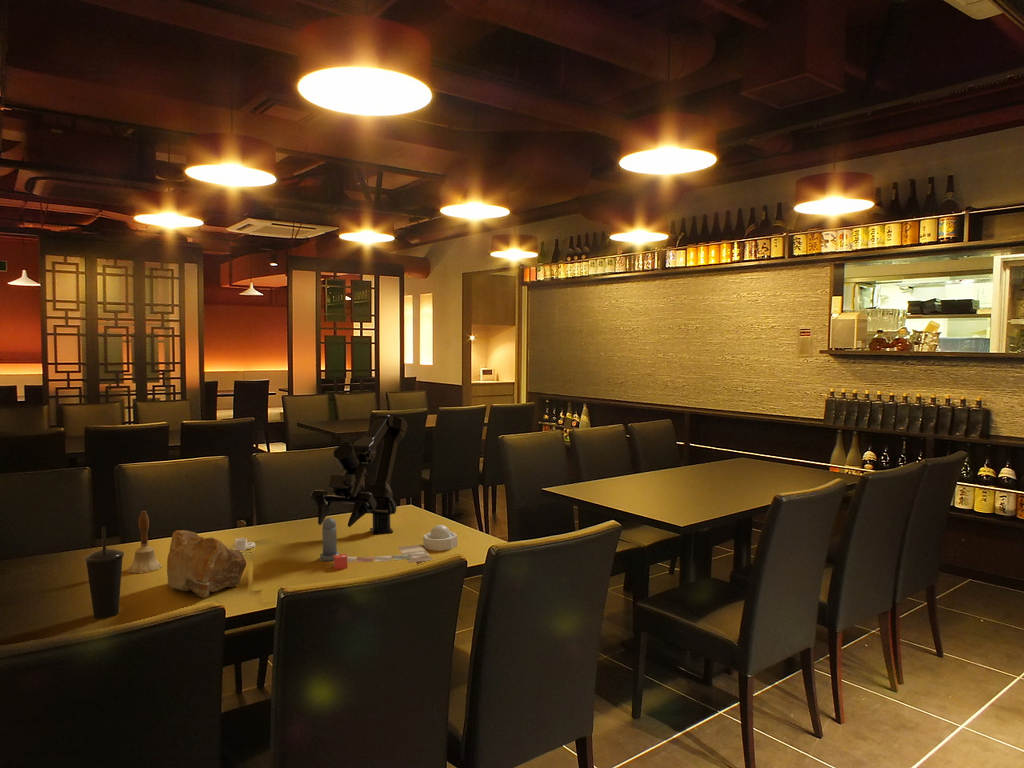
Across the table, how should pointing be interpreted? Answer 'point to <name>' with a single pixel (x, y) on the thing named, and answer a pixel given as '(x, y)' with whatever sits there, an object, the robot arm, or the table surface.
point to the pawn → (329, 540)
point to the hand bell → (144, 550)
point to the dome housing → (440, 542)
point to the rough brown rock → (202, 564)
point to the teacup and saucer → (243, 544)
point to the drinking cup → (105, 579)
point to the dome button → (440, 532)
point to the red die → (340, 561)
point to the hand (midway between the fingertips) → (333, 525)
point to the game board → (409, 552)
